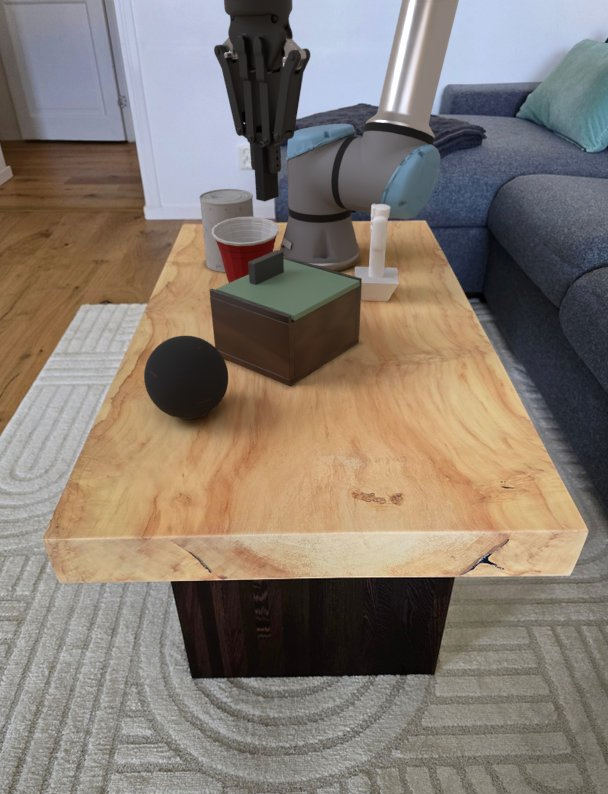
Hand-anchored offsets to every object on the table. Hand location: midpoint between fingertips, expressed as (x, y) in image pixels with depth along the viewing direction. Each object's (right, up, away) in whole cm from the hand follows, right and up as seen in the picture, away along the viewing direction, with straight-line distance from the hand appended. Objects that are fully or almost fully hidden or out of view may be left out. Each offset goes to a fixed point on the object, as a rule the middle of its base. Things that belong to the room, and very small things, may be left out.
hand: (267, 197), depth 82 cm
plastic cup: (-5, -7, +26) cm, 27 cm away
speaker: (-9, -28, -3) cm, 30 cm away
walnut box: (+2, -18, +11) cm, 21 cm away
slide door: (+3, -11, +5) cm, 12 cm away
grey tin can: (-9, +3, +39) cm, 40 cm away
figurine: (+17, -7, +26) cm, 32 cm away
